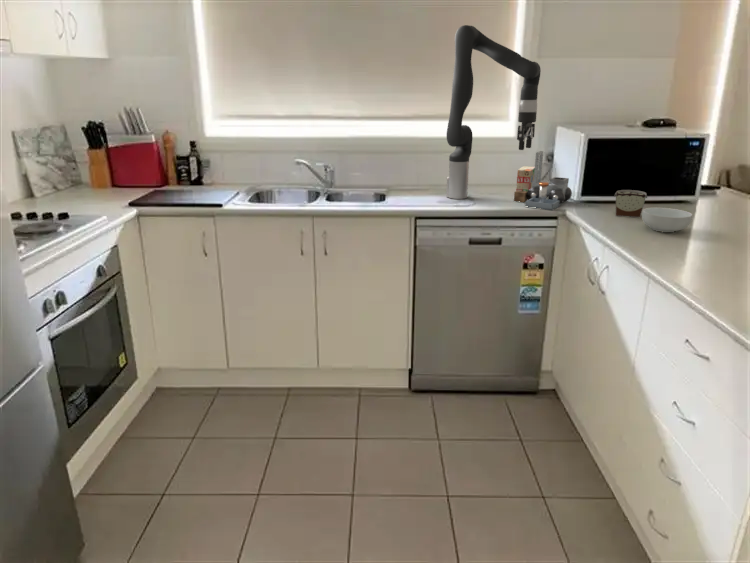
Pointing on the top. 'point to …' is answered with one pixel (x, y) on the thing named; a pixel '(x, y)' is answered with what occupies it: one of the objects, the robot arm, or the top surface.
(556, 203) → the tray
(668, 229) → the cereal bowl
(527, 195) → the trolley
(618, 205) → the food container
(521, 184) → the stack of blocks
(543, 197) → the pin
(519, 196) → the block
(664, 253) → the top surface
